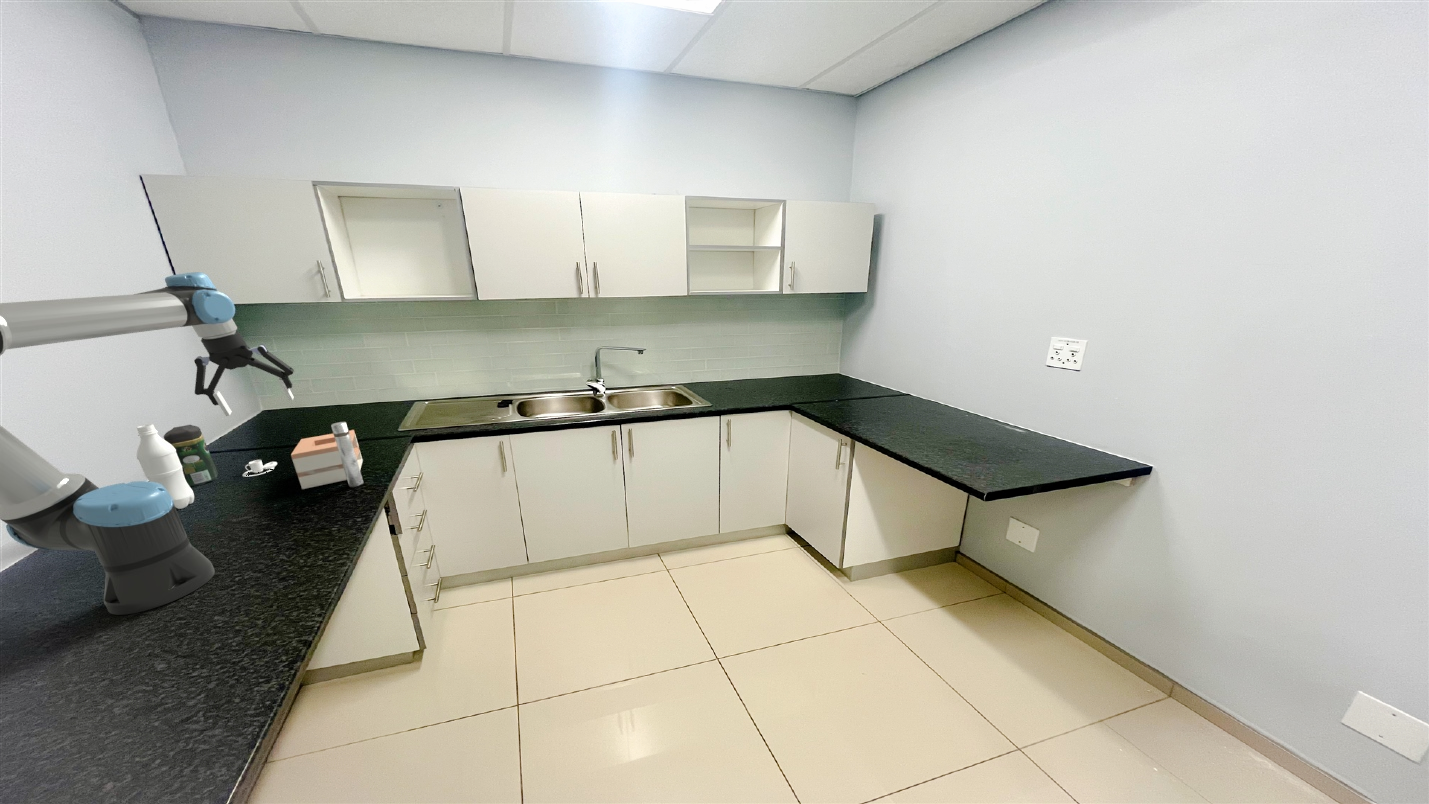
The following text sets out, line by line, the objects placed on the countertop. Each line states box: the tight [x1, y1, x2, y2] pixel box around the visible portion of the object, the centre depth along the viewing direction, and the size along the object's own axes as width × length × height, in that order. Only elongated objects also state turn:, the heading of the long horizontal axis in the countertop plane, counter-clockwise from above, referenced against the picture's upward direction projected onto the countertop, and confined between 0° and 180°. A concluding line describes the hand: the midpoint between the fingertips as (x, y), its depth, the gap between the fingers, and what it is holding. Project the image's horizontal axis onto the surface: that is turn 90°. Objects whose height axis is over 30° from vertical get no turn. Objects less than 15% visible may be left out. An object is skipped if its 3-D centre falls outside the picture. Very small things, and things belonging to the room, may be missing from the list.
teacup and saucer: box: [242, 459, 278, 478], centre depth 157 cm, size 9×8×4 cm
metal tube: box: [330, 421, 364, 488], centre depth 142 cm, size 4×4×20 cm
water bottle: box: [136, 423, 195, 510], centre depth 131 cm, size 7×7×25 cm
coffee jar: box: [163, 424, 219, 487], centre depth 149 cm, size 10×8×19 cm
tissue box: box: [290, 429, 364, 490], centre depth 151 cm, size 16×14×12 cm
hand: (261, 406), depth 130 cm, fingers open, 13 cm apart
